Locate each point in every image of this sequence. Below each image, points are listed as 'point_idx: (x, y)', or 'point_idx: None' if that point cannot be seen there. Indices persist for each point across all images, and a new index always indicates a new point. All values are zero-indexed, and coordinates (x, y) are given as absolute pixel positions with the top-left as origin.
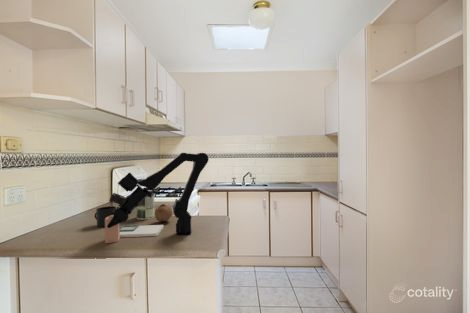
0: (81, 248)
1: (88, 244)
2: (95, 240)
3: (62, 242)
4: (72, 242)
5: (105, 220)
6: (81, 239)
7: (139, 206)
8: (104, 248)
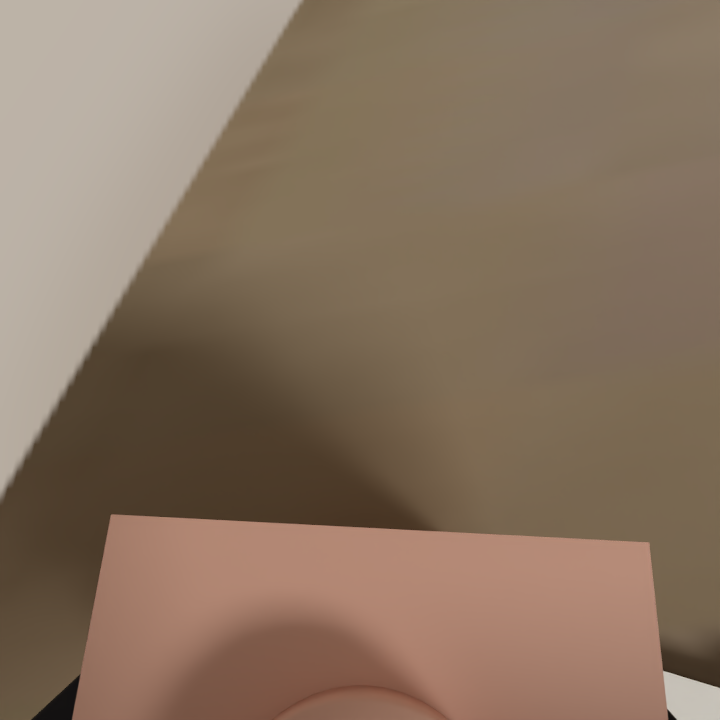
0: (184, 268)
1: (322, 320)
2: (486, 381)
3: (539, 24)
4: (498, 120)
5: (119, 545)
6: (603, 190)
7: None
8: (3, 580)
